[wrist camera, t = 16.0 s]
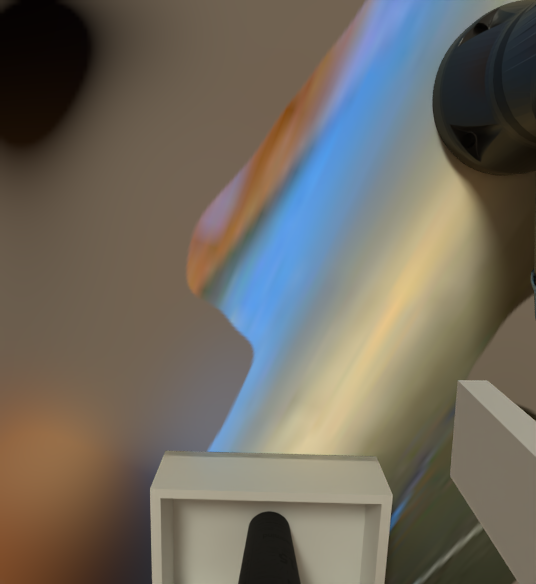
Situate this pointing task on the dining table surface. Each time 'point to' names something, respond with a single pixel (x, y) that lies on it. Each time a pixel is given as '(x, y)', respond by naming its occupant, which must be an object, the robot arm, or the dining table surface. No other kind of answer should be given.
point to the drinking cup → (269, 552)
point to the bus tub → (269, 497)
